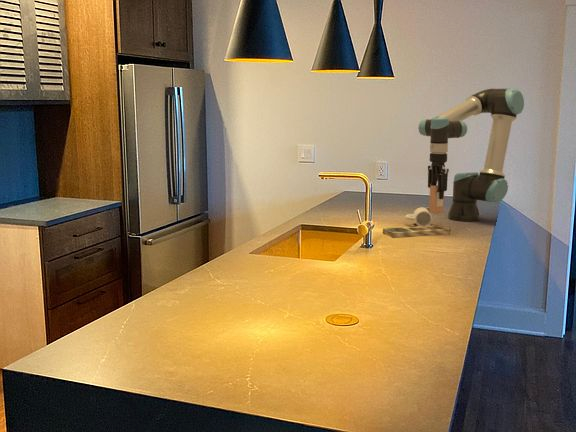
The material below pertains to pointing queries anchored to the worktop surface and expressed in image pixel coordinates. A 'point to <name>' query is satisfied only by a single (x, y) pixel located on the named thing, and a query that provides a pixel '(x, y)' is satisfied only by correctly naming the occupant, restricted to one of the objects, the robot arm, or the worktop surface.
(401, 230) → the compartment tray
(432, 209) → the peg block
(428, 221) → the mug
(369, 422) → the worktop surface
